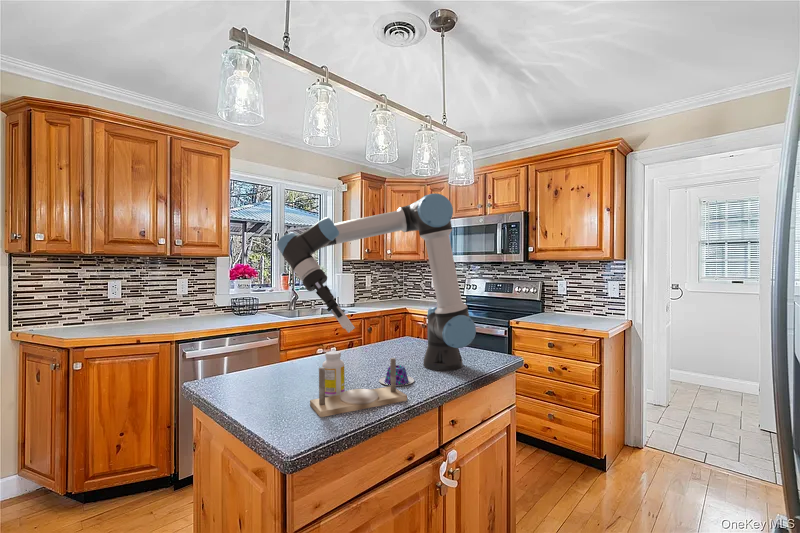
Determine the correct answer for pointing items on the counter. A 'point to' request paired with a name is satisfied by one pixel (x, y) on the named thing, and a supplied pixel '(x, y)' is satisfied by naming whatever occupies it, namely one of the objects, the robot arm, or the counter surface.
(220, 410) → the counter surface
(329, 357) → the supplement bottle
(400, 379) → the pudding
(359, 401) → the board
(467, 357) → the counter surface
